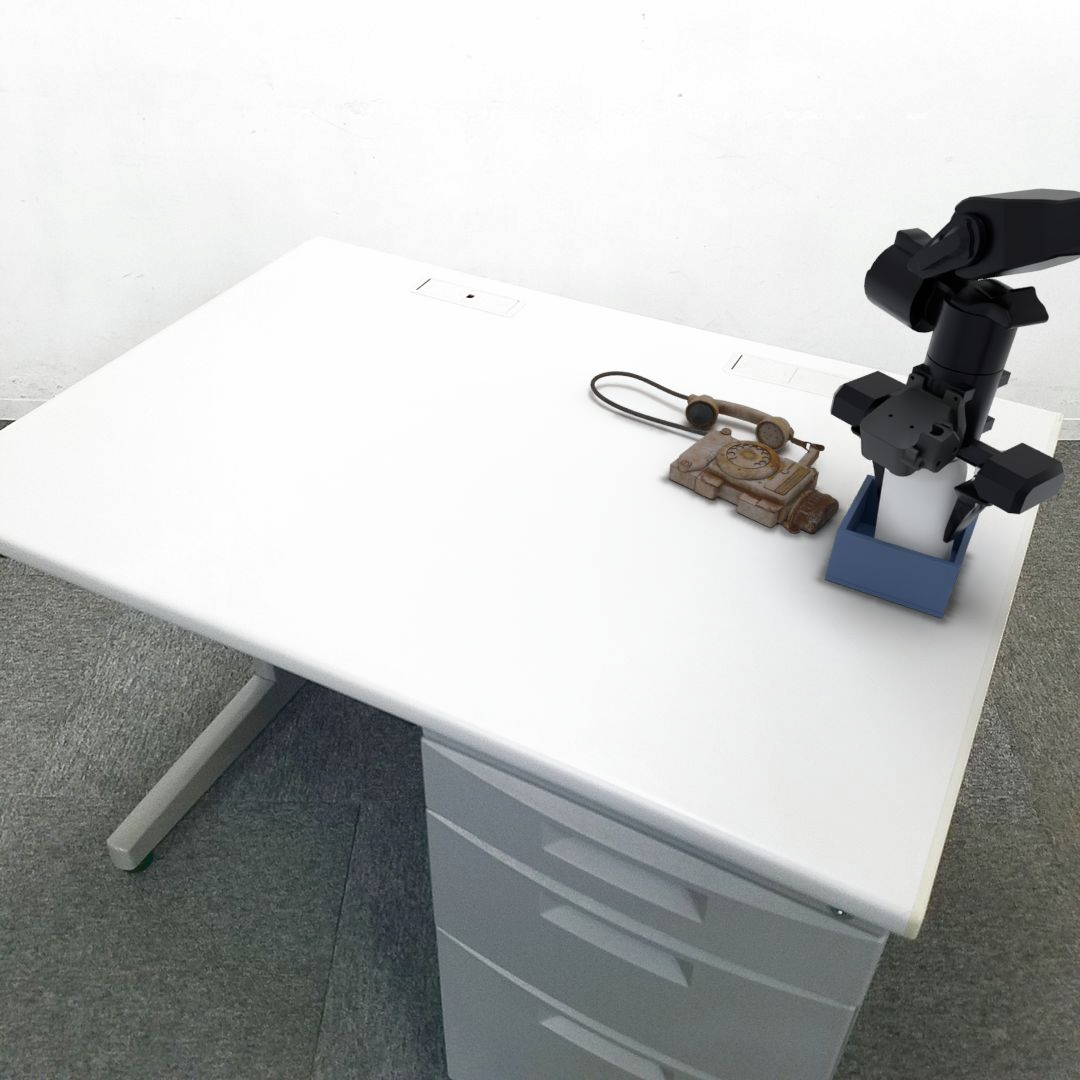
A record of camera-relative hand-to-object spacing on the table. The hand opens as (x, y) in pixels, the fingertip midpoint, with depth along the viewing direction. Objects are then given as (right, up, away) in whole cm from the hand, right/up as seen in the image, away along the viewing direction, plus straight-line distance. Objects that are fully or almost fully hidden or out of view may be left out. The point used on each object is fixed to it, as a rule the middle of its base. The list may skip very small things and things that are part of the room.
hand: (914, 520), depth 84 cm
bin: (0, -4, +4) cm, 6 cm away
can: (0, -4, +3) cm, 5 cm away
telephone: (-15, +8, +19) cm, 25 cm away
